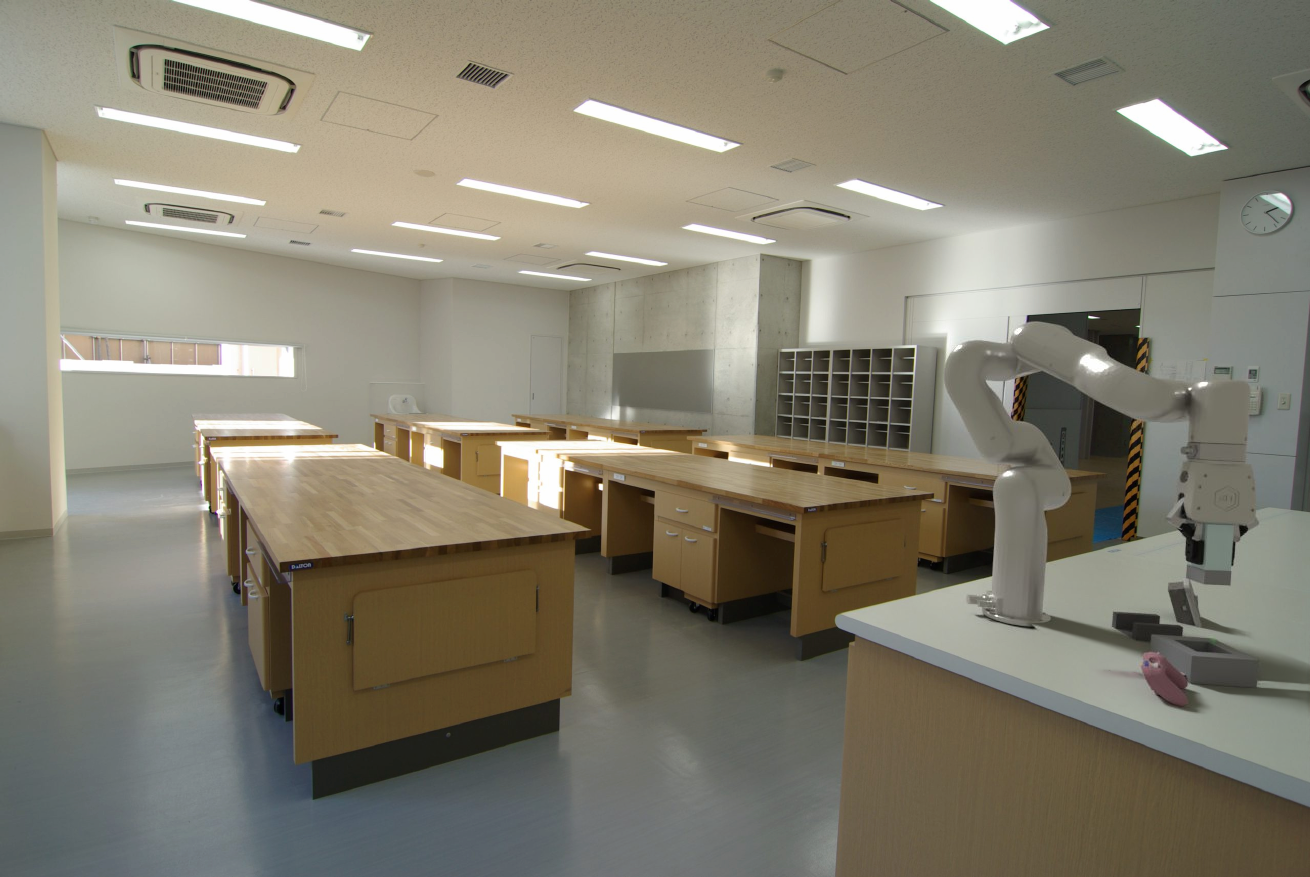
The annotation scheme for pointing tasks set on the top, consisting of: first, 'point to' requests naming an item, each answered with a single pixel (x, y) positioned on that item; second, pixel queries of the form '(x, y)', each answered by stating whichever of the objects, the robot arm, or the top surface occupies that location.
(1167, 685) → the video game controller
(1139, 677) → the top surface
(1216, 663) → the port
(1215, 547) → the plug
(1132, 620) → the dark grey flanged block
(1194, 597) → the electrical switch
